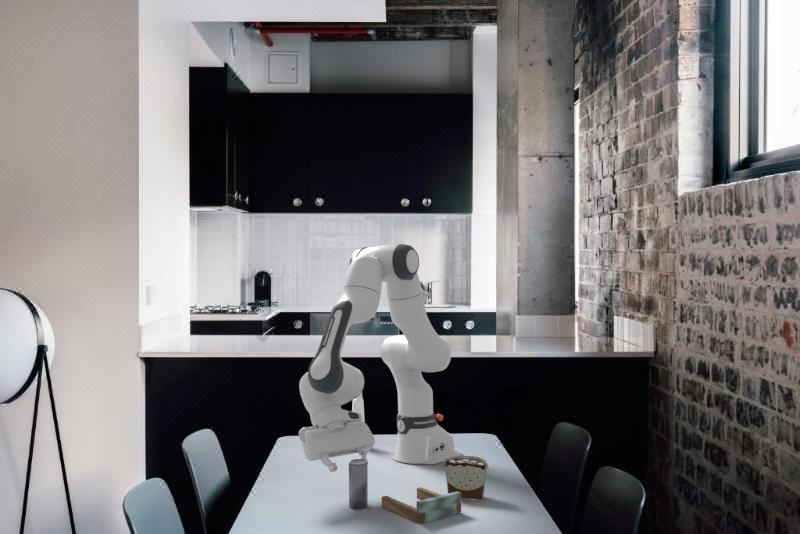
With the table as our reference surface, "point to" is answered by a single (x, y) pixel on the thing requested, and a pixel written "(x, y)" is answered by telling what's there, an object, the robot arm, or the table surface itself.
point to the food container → (466, 476)
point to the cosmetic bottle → (358, 406)
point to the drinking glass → (358, 484)
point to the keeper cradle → (426, 506)
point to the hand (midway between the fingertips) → (349, 467)
